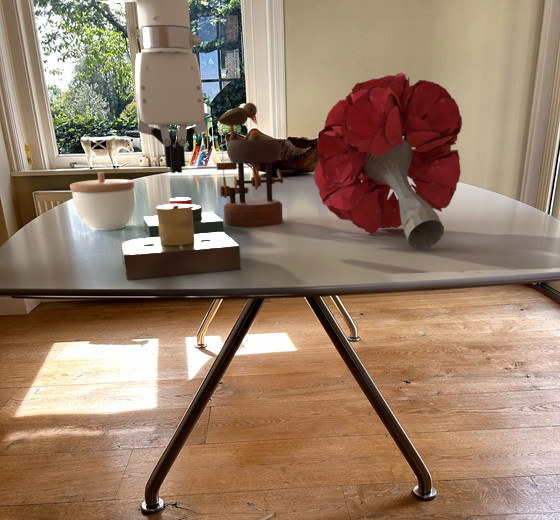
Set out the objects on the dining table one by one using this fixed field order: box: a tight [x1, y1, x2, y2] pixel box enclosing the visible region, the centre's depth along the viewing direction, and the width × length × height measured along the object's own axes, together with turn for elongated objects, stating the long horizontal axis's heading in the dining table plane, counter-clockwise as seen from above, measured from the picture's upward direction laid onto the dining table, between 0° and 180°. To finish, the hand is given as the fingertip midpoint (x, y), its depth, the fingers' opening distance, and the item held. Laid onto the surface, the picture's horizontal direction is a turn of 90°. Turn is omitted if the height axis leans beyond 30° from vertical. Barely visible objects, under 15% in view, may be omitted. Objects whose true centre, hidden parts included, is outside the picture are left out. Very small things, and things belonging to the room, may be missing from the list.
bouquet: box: [313, 72, 463, 250], centre depth 89 cm, size 22×24×30 cm
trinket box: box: [69, 171, 136, 232], centre depth 104 cm, size 11×11×9 cm
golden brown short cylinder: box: [156, 203, 195, 246], centre depth 75 cm, size 4×4×5 cm
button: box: [169, 197, 193, 205], centre depth 99 cm, size 4×4×2 cm
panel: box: [119, 231, 242, 281], centre depth 77 cm, size 14×10×3 cm
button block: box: [142, 204, 225, 238], centre depth 100 cm, size 12×10×4 cm
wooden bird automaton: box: [208, 102, 295, 228], centre depth 104 cm, size 15×11×20 cm
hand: (175, 172), depth 96 cm, fingers closed
